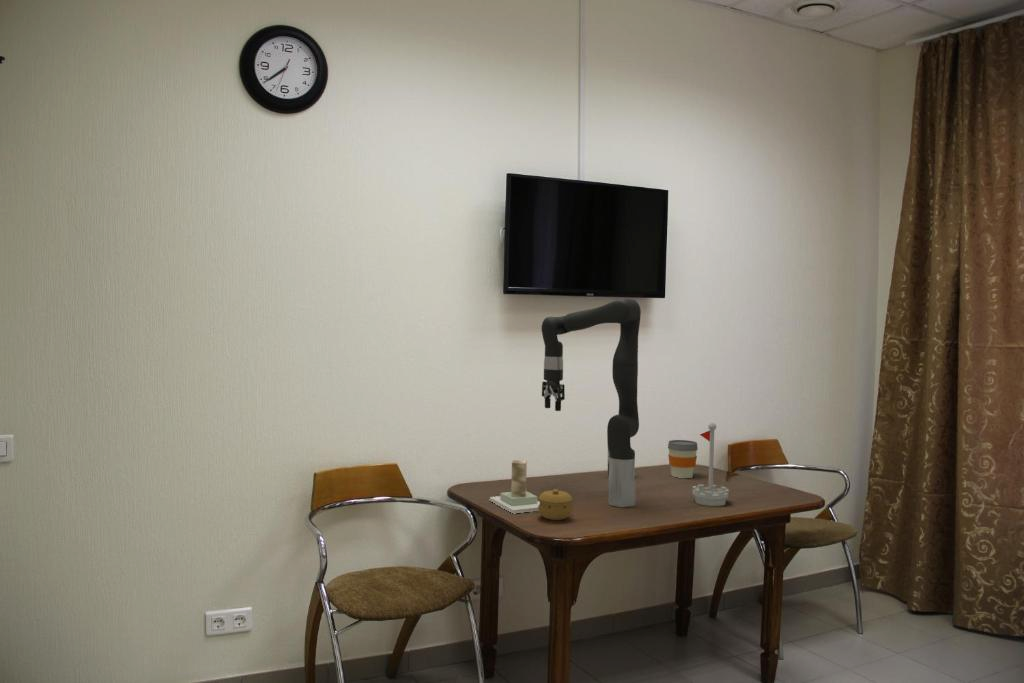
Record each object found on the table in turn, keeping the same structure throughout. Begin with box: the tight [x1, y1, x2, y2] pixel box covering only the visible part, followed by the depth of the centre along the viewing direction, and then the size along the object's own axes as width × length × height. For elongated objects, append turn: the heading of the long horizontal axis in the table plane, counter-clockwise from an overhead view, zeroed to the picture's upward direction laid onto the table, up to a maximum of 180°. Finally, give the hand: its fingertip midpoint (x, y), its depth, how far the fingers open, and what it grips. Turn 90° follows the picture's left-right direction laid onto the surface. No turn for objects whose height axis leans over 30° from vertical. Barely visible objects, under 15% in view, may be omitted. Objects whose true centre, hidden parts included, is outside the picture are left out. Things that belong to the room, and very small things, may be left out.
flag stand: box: [692, 422, 730, 507], centre depth 287 cm, size 13×13×30 cm
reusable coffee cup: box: [667, 439, 699, 479], centre depth 332 cm, size 13×13×15 cm
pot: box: [537, 488, 574, 521], centre depth 261 cm, size 12×12×10 cm
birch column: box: [510, 459, 528, 497], centre depth 276 cm, size 5×5×12 cm
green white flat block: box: [489, 490, 540, 515], centre depth 277 cm, size 20×14×4 cm
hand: (552, 409), depth 300 cm, fingers open, 8 cm apart
